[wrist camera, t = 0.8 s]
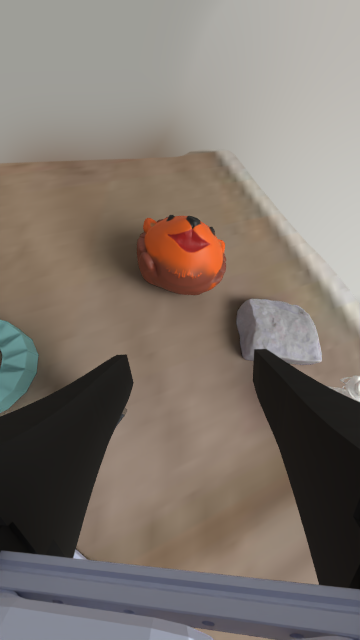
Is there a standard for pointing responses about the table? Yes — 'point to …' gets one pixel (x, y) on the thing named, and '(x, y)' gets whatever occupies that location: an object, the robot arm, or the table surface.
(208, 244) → the orange rounded figure
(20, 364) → the teal creased ring
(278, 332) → the stone block
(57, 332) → the table surface
